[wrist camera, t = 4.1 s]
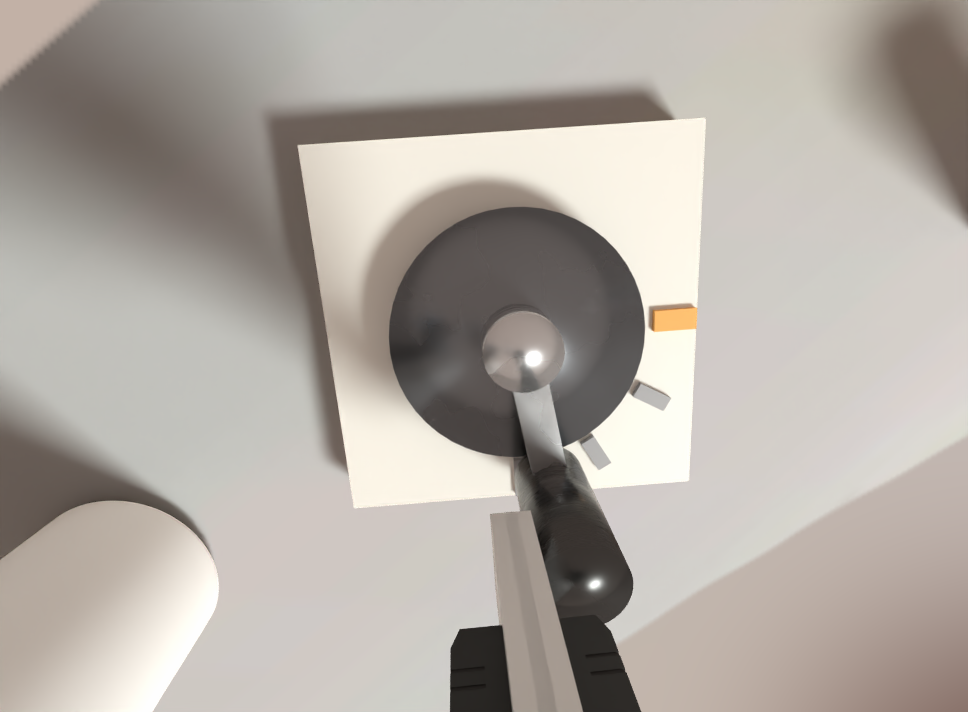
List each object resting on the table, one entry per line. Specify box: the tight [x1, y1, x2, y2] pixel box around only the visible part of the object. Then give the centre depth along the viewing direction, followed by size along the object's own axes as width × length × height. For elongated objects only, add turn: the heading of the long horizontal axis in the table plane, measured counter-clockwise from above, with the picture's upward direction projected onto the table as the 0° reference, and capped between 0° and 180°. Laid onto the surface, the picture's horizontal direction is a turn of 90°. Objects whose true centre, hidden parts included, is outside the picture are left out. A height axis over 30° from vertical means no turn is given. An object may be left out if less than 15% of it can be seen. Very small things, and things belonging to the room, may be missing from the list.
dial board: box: [298, 118, 706, 508], centre depth 20 cm, size 14×14×2 cm
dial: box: [389, 207, 645, 624], centre depth 16 cm, size 11×9×7 cm
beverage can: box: [0, 501, 219, 712], centre depth 18 cm, size 8×8×12 cm
